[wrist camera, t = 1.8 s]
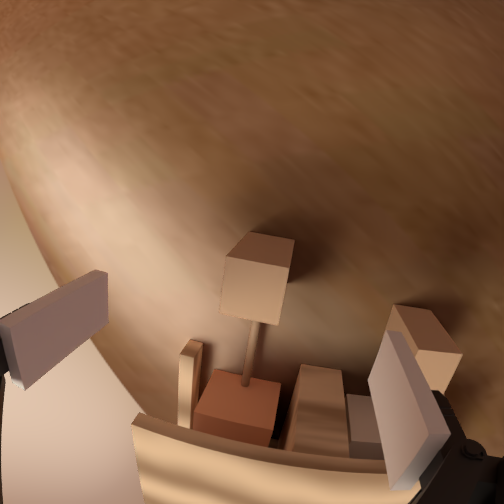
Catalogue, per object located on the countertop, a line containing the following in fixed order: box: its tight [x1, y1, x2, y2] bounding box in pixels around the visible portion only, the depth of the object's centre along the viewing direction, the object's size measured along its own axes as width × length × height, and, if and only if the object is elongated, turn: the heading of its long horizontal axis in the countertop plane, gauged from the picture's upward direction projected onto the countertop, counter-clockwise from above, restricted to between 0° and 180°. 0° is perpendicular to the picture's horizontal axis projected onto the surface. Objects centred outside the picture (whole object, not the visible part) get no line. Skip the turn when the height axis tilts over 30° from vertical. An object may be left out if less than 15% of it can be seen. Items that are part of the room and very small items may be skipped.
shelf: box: [131, 340, 445, 504], centre depth 22 cm, size 11×23×11 cm, turn 81°
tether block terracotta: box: [193, 232, 295, 447], centre depth 23 cm, size 19×6×7 cm, turn 171°
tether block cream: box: [345, 304, 463, 460], centre depth 22 cm, size 15×6×7 cm, turn 171°
